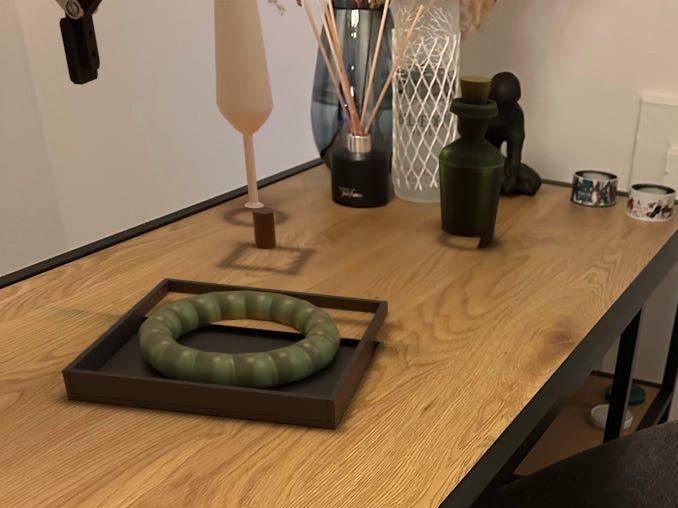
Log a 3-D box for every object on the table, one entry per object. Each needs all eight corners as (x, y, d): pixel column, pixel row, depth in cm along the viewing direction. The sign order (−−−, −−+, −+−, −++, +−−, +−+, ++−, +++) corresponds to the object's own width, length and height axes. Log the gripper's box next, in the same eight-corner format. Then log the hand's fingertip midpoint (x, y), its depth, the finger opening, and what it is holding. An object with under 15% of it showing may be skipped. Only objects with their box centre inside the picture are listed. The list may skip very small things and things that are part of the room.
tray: (68, 399, 80) (61, 370, 78) (168, 302, 97) (164, 277, 96) (335, 429, 79) (334, 400, 77) (388, 326, 96) (388, 300, 95)
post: (222, 266, 107) (216, 217, 104) (244, 244, 113) (239, 197, 110) (291, 273, 107) (287, 224, 103) (309, 251, 113) (306, 204, 109)
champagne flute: (286, 211, 124) (272, -7, 109) (273, 226, 119) (256, -1, 104) (237, 207, 124) (214, -12, 109) (221, 222, 119) (196, -6, 104)
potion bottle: (503, 235, 122) (515, 76, 111) (493, 254, 116) (504, 88, 104) (442, 227, 123) (448, 69, 111) (429, 246, 117) (433, 80, 105)
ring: (111, 384, 81) (104, 351, 79) (179, 309, 95) (174, 279, 93) (317, 404, 81) (315, 371, 79) (355, 325, 94) (354, 295, 92)
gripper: (-227, -263, 55) (-124, 73, 66) (58, -241, 54) (114, 95, 65) (-146, -251, 61) (-64, 57, 72) (112, -231, 60) (155, 77, 71)
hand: (21, 75), depth 68 cm, fingers open, 9 cm apart
